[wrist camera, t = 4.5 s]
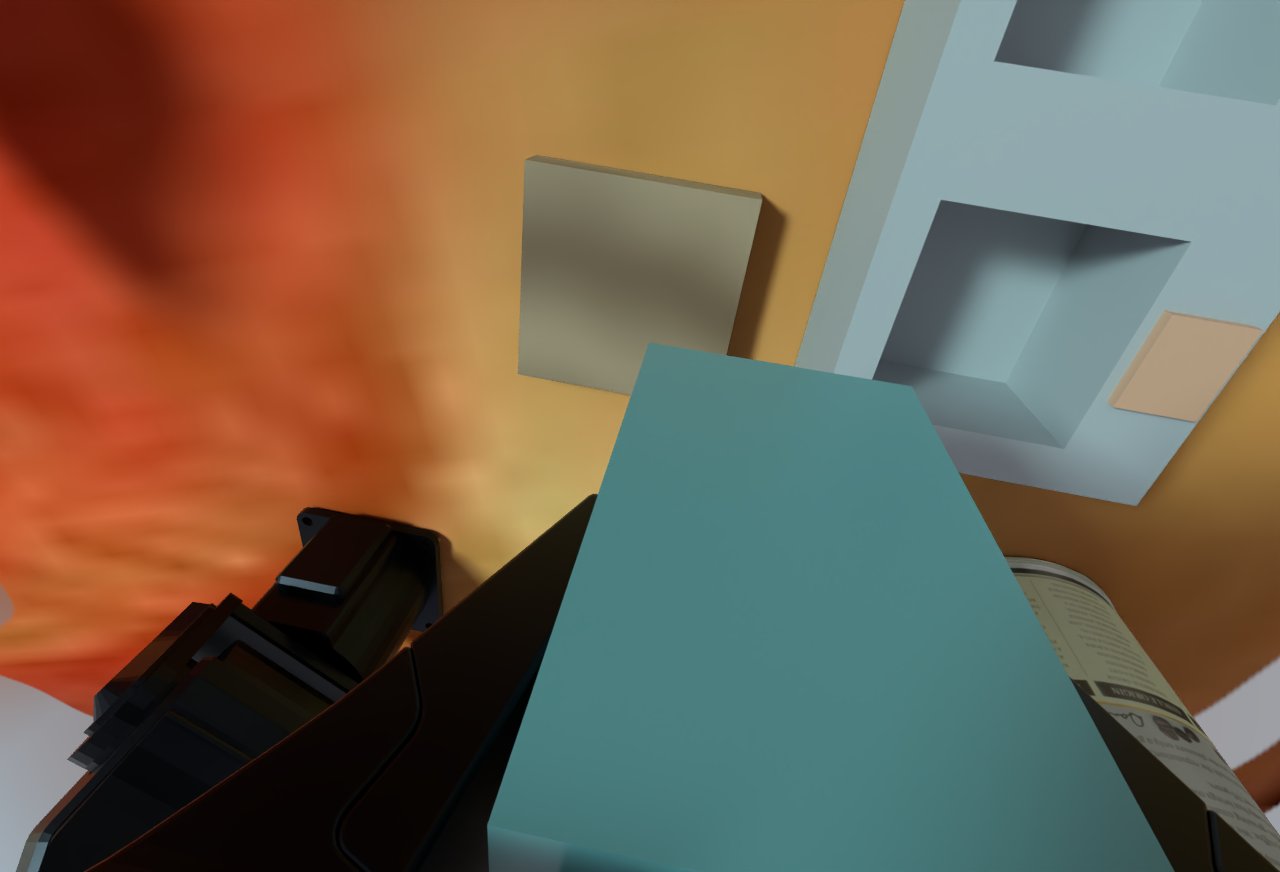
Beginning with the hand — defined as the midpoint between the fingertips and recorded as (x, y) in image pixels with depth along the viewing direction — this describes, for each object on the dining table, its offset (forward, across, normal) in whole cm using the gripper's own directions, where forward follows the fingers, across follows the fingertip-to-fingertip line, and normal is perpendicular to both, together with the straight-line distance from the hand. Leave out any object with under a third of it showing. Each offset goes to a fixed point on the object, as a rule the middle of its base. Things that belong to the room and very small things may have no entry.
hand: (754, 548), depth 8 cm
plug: (+2, 0, 0) cm, 2 cm away
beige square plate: (+13, +4, +1) cm, 14 cm away
